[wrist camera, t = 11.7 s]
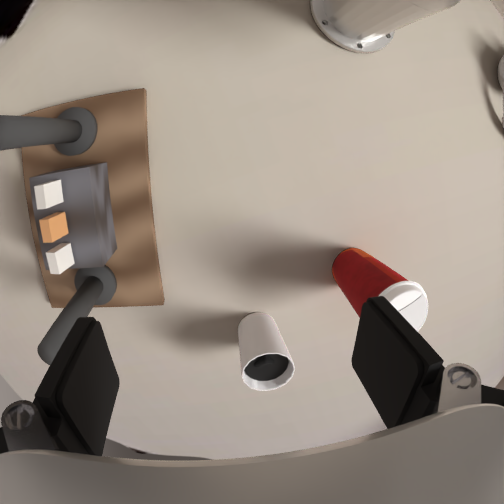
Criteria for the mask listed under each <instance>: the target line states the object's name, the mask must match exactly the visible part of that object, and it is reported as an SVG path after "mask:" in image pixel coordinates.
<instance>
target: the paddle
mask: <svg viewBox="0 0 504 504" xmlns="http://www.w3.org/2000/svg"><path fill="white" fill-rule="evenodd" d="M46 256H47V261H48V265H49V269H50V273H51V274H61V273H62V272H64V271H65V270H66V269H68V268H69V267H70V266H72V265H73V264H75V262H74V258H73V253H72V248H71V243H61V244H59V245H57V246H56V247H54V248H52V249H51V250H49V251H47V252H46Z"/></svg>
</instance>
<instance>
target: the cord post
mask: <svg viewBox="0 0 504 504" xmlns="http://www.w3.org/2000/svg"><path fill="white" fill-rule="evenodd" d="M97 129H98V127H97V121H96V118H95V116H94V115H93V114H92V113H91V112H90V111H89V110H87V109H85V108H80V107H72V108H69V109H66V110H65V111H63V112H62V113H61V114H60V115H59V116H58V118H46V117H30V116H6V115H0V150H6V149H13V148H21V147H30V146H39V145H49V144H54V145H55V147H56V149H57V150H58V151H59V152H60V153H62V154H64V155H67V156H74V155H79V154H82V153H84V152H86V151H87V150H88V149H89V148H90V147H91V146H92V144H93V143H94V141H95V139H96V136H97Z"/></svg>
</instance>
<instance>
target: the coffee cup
mask: <svg viewBox="0 0 504 504" xmlns="http://www.w3.org/2000/svg"><path fill="white" fill-rule="evenodd" d="M332 273H333V277H334V279H335V281H336V282H337V284H338V285H339V287H340V288H341V290H342V292H343V293H344V295H345V296H346V298H347V299H348V301H349V302H350V304H351V305H352V307H353V308H354V310H355V311H356V313H357V314H358V316H359V317H360V315H361V309H362V305H363V303H364V302H366V300H367V299H368V298H370V297H377V296H384V297H385V298H386V299H387V300H388V301H389V302H390V303H391V304H392V305H393V306H394V307H395V308H396V310H397V311H398V312H399V313H400V314H401V315H402V316H403V317H404V318H405V319H406V320H407V321H408V322H409V323H410V324H411V325H412V326H413V328H414V329H415V330H416V331H417V332H418V331H419V330H420V328H421V327H422V325H423V324H424V322H425V320H426V317H427V313H428V301H427V295H426V294H425V292H424V290H423V288H422V287H421V286H420V285H419V284H418V283H416V282H414V281H408V280H407V279H405V278H404V277H402V276H401V275H400V274H398V273H397V272H395V271H394V270H392V269H391V268H389V267H388V266H386V265H385V264H383V263H382V262H380V261H378V260H377V259H375V258H374V257H372V256H371V255H369V254H367V253H366V252H364V251H362V250H360V249H357V248H349V249H346V250H344V251H343V252H341V253H340V254H339V255H338V256H337V257H336V259H335V261H334V263H333V267H332Z"/></svg>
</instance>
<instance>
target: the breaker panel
mask: <svg viewBox="0 0 504 504" xmlns="http://www.w3.org/2000/svg"><path fill="white" fill-rule="evenodd" d="M72 107H80V108H85V109H87V110H89V111H90V112H91V113H92V114H93V115H94V116H95V118H96V121H97V127H98V129H97V136H96V139H95V141H94V143H93V144H92V146H91V147H90V148H89V149H88V150H87V151H86V152H84V153H82V154H79V155H74V156H67V155H64V154H62V153H60V152H59V151H58V150H57V149H56V147H55V145H54V144H49V145H39V146H30V147H21V148H22V162H23V173H24V182H25V190H26V197H27V204H28V211H29V217H30V222H31V228H32V233H33V238H34V243H35V247H36V252H37V256H38V260H39V264H40V268H41V272H42V276H43V279H44V283H45V287H46V290H47V293H48V297H49V300H50V303H51V306H52V308H65V306H66V305H67V304H68V302H69V301H70V300H71V298H72V297H73V296H74V294H75V293H76V292H77V290H76V288H75V283H74V279H75V275H76V273H77V271H78V270H79V269H80V268H94V267H104V265H106V266H108V267H109V268H110V269H111V270H112V272H113V273H114V275H115V278H116V281H117V288H116V292H115V294H114V296H113V297H112V299H111V300H110V301H109V302H108V303H106V304H104V305H94V306H93V307H127V306H153V305H163V304H164V294H163V287H162V281H161V274H160V267H159V260H158V252H157V244H156V236H155V227H154V218H153V208H152V197H151V186H150V172H149V157H148V137H147V105H146V90H145V89H144V88H142V89H135V90H128V91H122V92H116V93H110V94H105V95H100V96H95V97H90V98H85V99H81V100H76V101H72V102H68V103H64V104H60V105H56V106H52V107H49V108H45V109H41V110H38V111H35V112H31V113H28V114H25V115H22V116H30V117H46V118H58V116H59V115H60V114H61V113H62V112H63V111H65V110H66V109H69V108H72ZM55 180H61V185H62V193H63V201H64V202H62V203H59V204H57V205H54V206H52V207H49V208H47V209H38V210H37V204H36V197H35V189H34V186H37V185H40V184H43V183H46V182H50V181H55ZM56 212H65V215H66V221H67V227H68V234H67V235H65V236H63V237H61V238H59V239H58V240H56V241H54V242H53V243H43V238H42V233H41V228H40V222H39V220H40V219H43V218H45V217H47V216H49V215H52V214H54V213H56ZM61 243H71V248H72V253H73V258H74V262H75V264H73V265H72V266H70V267H69V268H68V269H66V270H65V271H64V272H62V273H61V274H51V273H50V269H49V265H48V261H47V256H46V252H47V251H49V250H51V249H52V248H54V247H56V246H57V245H59V244H61Z"/></svg>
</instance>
